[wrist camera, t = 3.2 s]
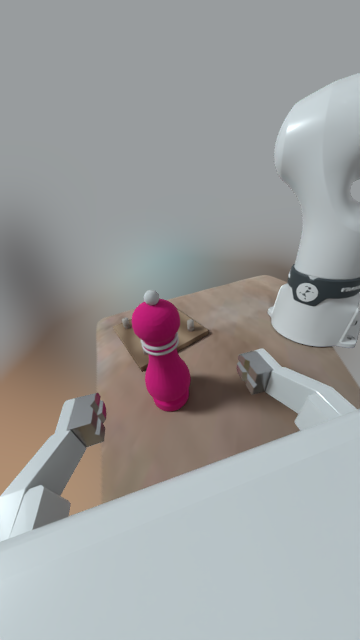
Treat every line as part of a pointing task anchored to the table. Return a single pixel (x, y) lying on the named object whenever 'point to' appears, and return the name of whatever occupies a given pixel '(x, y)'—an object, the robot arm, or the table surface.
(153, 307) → the pepper mill
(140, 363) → the pin base
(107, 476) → the table surface
